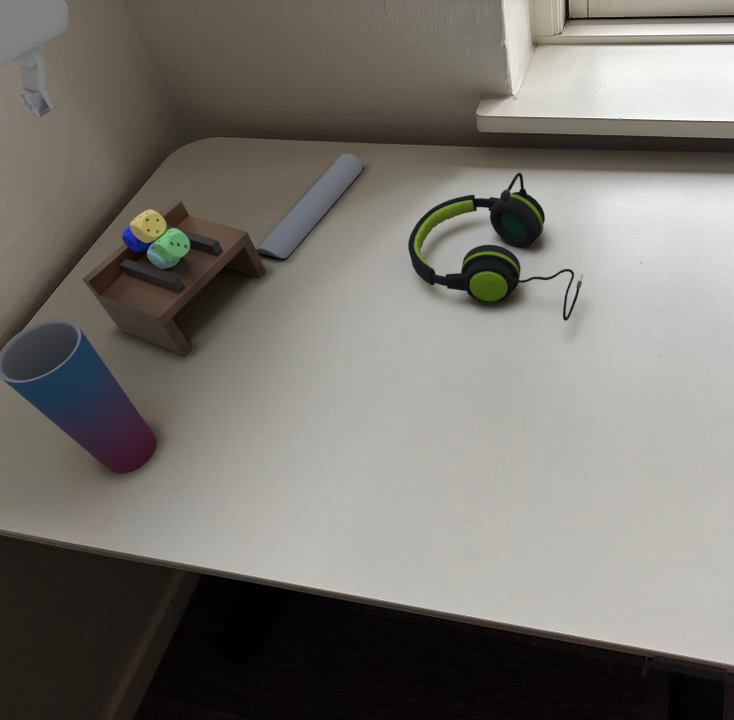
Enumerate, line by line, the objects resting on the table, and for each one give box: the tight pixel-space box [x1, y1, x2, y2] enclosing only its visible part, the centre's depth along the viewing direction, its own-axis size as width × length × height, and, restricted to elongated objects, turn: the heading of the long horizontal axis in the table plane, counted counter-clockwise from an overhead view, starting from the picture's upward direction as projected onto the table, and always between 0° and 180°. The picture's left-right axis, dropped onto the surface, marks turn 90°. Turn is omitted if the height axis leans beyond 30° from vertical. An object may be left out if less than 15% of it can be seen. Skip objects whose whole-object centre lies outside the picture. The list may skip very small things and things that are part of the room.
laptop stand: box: [81, 199, 267, 357], centre depth 79 cm, size 14×10×8 cm
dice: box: [121, 208, 190, 269], centre depth 75 cm, size 8×3×6 cm, turn 62°
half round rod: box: [255, 153, 363, 259], centre depth 90 cm, size 4×20×2 cm, turn 155°
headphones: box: [407, 172, 584, 322], centre depth 75 cm, size 16×10×20 cm
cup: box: [0, 318, 157, 474], centre depth 63 cm, size 7×7×15 cm
